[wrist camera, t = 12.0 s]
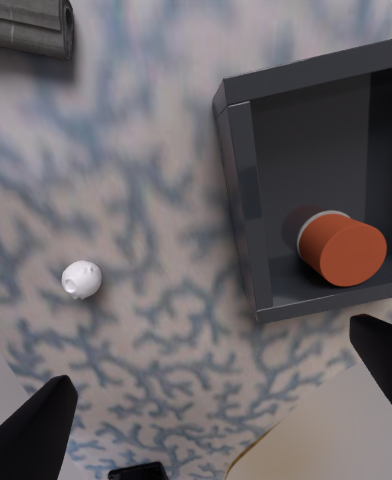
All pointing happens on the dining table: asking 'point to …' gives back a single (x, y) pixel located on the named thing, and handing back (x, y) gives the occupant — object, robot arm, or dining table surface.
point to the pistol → (37, 26)
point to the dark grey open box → (306, 171)
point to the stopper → (342, 249)
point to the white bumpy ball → (82, 279)
